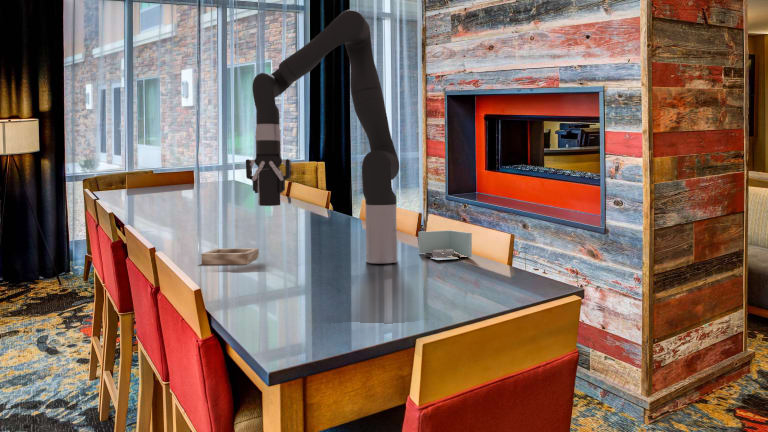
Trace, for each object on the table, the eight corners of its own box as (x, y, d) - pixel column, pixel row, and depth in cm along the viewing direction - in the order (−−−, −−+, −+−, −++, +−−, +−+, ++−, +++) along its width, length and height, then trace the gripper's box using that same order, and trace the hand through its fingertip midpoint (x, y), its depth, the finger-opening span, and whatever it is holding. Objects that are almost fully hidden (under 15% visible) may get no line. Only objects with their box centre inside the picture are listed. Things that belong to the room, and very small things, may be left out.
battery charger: (277, 205, 196) (277, 169, 195) (281, 205, 192) (281, 169, 192) (256, 205, 193) (255, 169, 192) (259, 206, 189) (258, 168, 188)
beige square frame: (258, 258, 191) (258, 248, 191) (247, 264, 178) (247, 253, 178) (216, 258, 192) (215, 248, 192) (201, 264, 179) (201, 253, 178)
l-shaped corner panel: (418, 255, 195) (418, 231, 195) (450, 253, 201) (450, 230, 200) (438, 259, 185) (437, 234, 184) (471, 257, 190) (471, 233, 189)
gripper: (293, 140, 194) (294, 192, 195) (248, 140, 195) (249, 192, 196) (288, 138, 187) (289, 193, 188) (241, 139, 188) (242, 193, 189)
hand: (268, 192), depth 192 cm, fingers closed on battery charger, 7 cm apart
